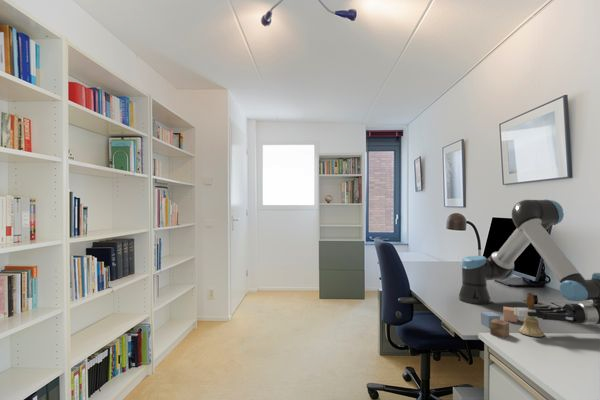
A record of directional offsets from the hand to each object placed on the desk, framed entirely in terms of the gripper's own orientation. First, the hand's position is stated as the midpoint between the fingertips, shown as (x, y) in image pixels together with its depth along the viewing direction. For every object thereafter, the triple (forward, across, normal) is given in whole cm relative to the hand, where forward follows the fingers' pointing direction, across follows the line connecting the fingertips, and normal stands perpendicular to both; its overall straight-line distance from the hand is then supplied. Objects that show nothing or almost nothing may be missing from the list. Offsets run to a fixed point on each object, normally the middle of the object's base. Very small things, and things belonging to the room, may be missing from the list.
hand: (516, 312), depth 131 cm
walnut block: (+7, -2, -8) cm, 11 cm away
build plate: (-34, +47, -9) cm, 59 cm away
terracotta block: (-6, +17, -8) cm, 20 cm away
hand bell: (-6, 0, -8) cm, 10 cm away
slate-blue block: (+6, +8, -8) cm, 13 cm away
